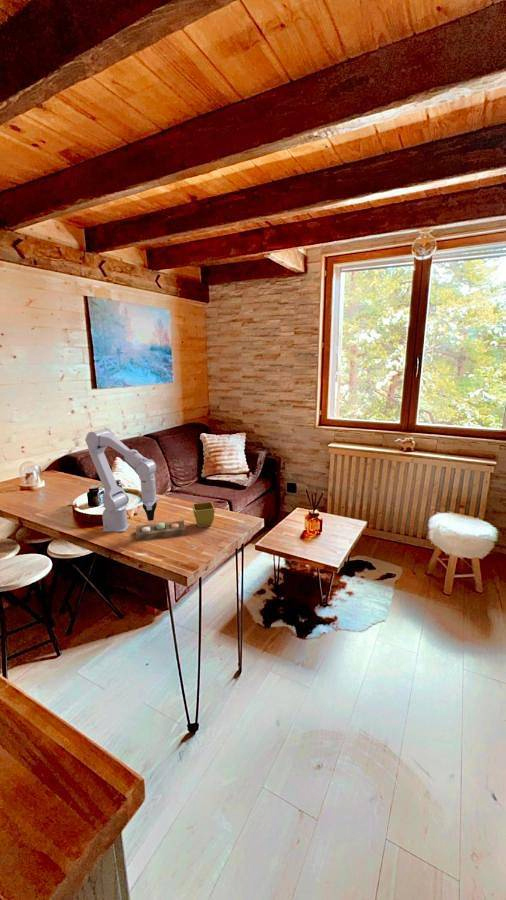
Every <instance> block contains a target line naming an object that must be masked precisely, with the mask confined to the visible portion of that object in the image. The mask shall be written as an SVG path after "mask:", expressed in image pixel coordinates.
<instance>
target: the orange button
mask: <svg viewBox="0 0 506 900" xmlns="http://www.w3.org/2000/svg"><path fill="white" fill-rule="evenodd" d="M172 528H179V524H177V523H174V524H171V529H172Z"/></svg>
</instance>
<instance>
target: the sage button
mask: <svg viewBox="0 0 506 900" xmlns="http://www.w3.org/2000/svg"><path fill="white" fill-rule="evenodd" d="M165 523H166V522H157V523H155V524H156V530H163V529H165Z"/></svg>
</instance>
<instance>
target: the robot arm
mask: <svg viewBox="0 0 506 900" xmlns="http://www.w3.org/2000/svg"><path fill="white" fill-rule="evenodd" d="M84 441H85V444H86V446H87V449H88V452H89V453H88V454H89V455H90V458H91V460H92V463H93V465H94V468H95V470H96V472H97V475H98V477H99V479H100V481H101V484H102V486H103V487H102V488H103V489H104V492H103V494H102V496H101V499H102V501H103V502H102V503H103V508H104V510H103V512H102V524H103V530H102V532H107V533H108V532H111V533H113V532H116V533H117V532H118V533H122V532H123V533H124V532H126V531H127V529H129V527H130V525H131V523H130V522H128V520H127V519H128V518H127V509H126V508H127V505H128V504H129V500H130V497H129V495H128V493H126V492H125V489H124V488H123V487H121V486H119V485H118V483H117V480H116V478H115V476H114V474H113V472H112V468H111V467H110V465H109V461H108V459H107V457H106V454H105V451H106V449H107V447H110V448H112V449H113V450H115V451H116V452H118V453H120V455H122V456H123V457H124V461H125V462H127V463H128V464H129V465H130V466H132V467H133V468H134V469H135V470H136V471H135V472H136V474H137V475H138V478H139V479H138V480H140V491H141V503H142V509H143V510H144V512H145V515H146V518H147V521H148V522H152V521H154V519H155V512H156V509H157V504H158V503H157V502H159V501H160V497H157V493H156V491H157V489H156V476H155V472H156V471H157V468H158V466H157V463H156V462H155V460H154V459H152V458H150V459H148V458H147V457H144V456H143V455H142V454H141V453H139V450H136V449H130V448H129V447H128V446H126V444H124V443H123V442H122V441H121V440H120V439H118V437H117V436H116V433H115V432H114V431H112V430H111V429H110V428H106V427H105V428H103V429H99V430H95V431H89V432H88V433H87V434H86V437H85V439H84Z"/></svg>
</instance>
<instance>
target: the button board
mask: <svg viewBox="0 0 506 900" xmlns="http://www.w3.org/2000/svg"><path fill="white" fill-rule="evenodd" d="M164 523H165V529H163V530H156V524H157V523H153V524H152V523H151V524H143V525H142V524H141V525H136V526H135V527H136V528H135V539H136V540H135V541H137V542H138V541H145V540H146V541H147V540H152V539H153V540H154V539H162V538H170V537H171V538H172V537H177V536H185V535H186V526H185V522H184V520H180V521H179V520H178V521H170V522H164ZM174 523H177V524H179V528H172V529H171V524H174ZM143 527H150V530H151V531H146V532H142V528H143Z"/></svg>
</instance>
